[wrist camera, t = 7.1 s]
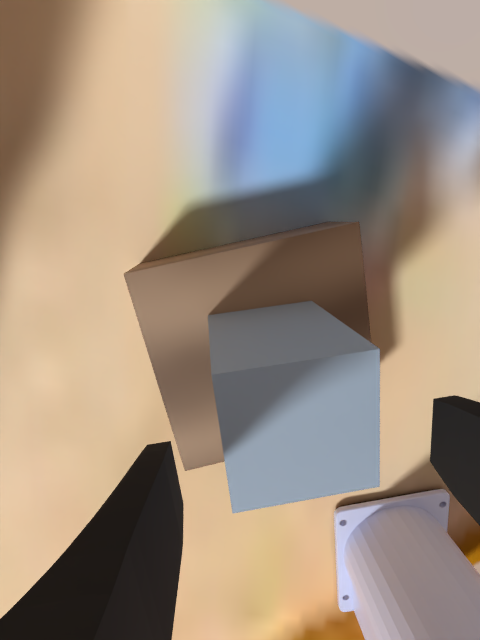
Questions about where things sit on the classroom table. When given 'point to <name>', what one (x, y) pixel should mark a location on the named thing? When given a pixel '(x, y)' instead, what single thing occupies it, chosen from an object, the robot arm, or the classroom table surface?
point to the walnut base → (236, 295)
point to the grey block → (294, 404)
